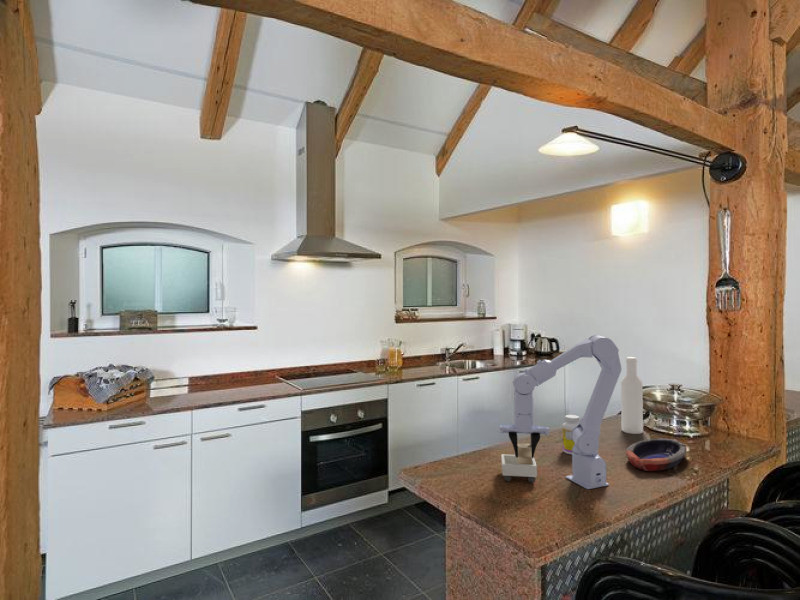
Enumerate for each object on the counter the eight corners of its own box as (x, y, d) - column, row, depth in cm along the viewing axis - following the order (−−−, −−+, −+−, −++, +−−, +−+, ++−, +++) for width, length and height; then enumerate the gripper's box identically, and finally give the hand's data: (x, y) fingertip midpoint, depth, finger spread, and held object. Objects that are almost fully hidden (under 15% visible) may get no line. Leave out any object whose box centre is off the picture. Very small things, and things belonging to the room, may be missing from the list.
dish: (698, 457, 161) (698, 442, 161) (660, 480, 141) (660, 464, 141) (650, 446, 173) (650, 432, 173) (610, 466, 153) (610, 451, 153)
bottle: (647, 433, 187) (646, 358, 187) (629, 434, 186) (628, 359, 186) (634, 427, 195) (634, 355, 195) (617, 429, 194) (616, 356, 194)
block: (530, 459, 146) (530, 443, 146) (531, 464, 142) (531, 448, 142) (517, 459, 147) (517, 443, 147) (518, 463, 143) (517, 447, 143)
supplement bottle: (566, 448, 172) (566, 413, 172) (585, 451, 167) (584, 415, 167) (560, 453, 167) (559, 416, 166) (578, 456, 162) (578, 419, 162)
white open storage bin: (533, 472, 148) (533, 455, 148) (537, 483, 140) (536, 465, 140) (501, 470, 150) (501, 454, 150) (502, 481, 141) (502, 464, 141)
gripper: (546, 410, 147) (547, 453, 147) (499, 408, 150) (499, 451, 150) (549, 416, 140) (550, 461, 140) (500, 414, 143) (500, 459, 143)
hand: (524, 456), depth 145 cm, fingers closed on block, 4 cm apart
